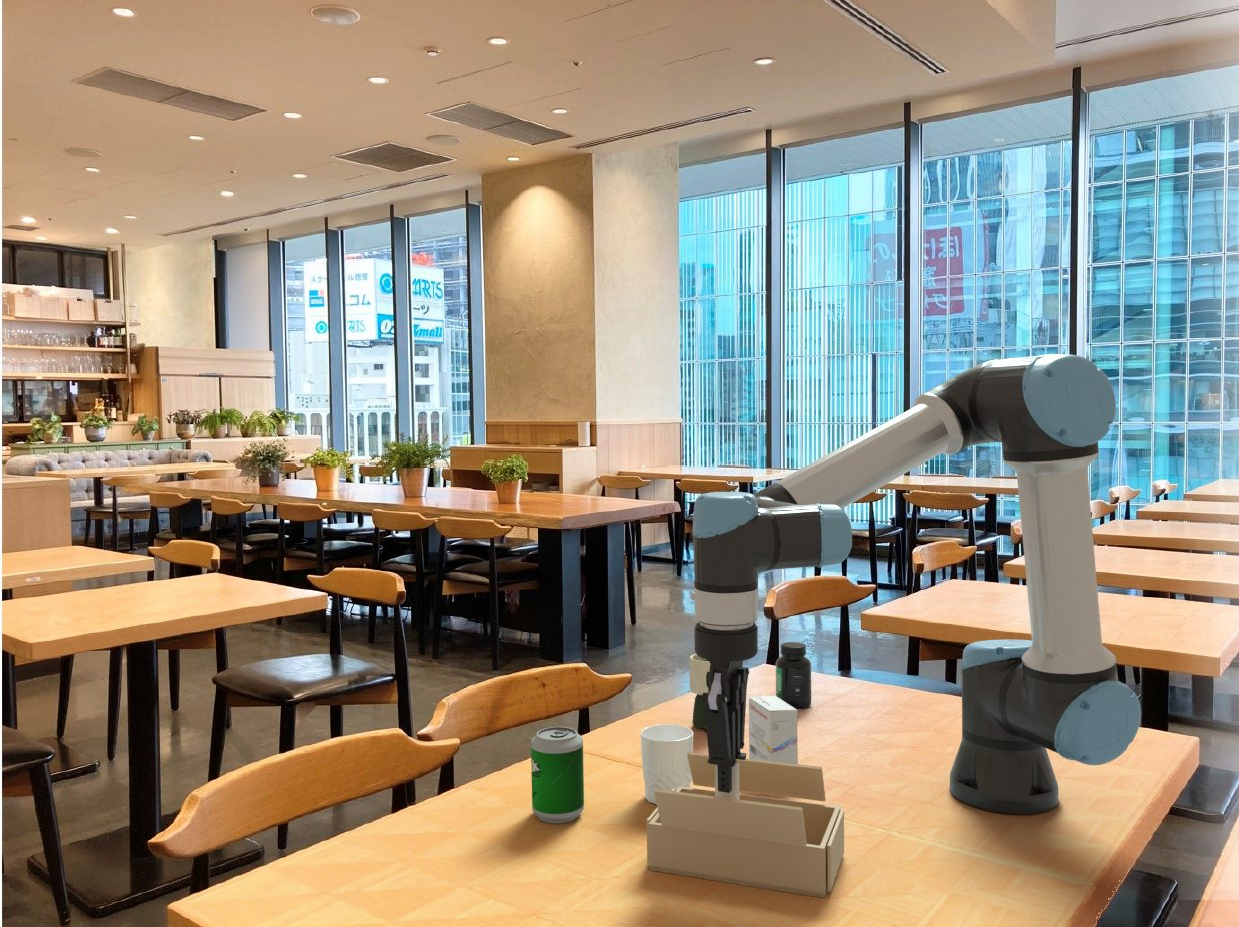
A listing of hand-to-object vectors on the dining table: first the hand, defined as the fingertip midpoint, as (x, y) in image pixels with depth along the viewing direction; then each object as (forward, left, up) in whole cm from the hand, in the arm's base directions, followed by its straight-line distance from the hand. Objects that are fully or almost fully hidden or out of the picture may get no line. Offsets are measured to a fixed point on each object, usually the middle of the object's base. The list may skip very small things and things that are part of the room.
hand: (727, 814), depth 119 cm
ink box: (+3, -38, -9) cm, 39 cm away
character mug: (+19, -58, -9) cm, 62 cm away
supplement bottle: (+7, -76, -9) cm, 77 cm away
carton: (0, -8, -9) cm, 12 cm away
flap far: (0, -15, -3) cm, 15 cm away
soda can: (+29, -13, -9) cm, 33 cm away
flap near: (0, -1, -3) cm, 3 cm away
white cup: (+16, -24, -9) cm, 30 cm away
